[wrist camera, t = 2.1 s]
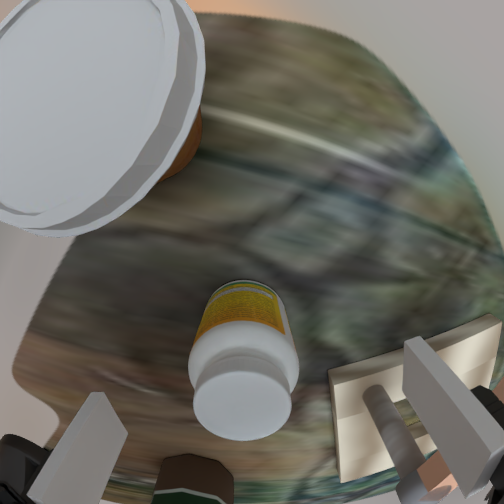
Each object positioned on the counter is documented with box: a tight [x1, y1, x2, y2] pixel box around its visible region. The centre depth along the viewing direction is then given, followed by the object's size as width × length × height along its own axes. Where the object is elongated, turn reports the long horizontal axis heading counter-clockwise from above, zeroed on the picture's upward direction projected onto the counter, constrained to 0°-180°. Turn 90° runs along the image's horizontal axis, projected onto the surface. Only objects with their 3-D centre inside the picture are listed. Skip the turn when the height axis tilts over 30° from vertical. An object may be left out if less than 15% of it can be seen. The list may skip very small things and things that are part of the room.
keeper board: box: [328, 313, 502, 483], centre depth 18 cm, size 16×14×10 cm
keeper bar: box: [396, 377, 504, 504], centre depth 10 cm, size 12×3×2 cm, turn 147°
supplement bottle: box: [188, 280, 299, 441], centre depth 16 cm, size 5×5×10 cm
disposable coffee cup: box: [0, 0, 206, 238], centre depth 12 cm, size 10×10×12 cm
